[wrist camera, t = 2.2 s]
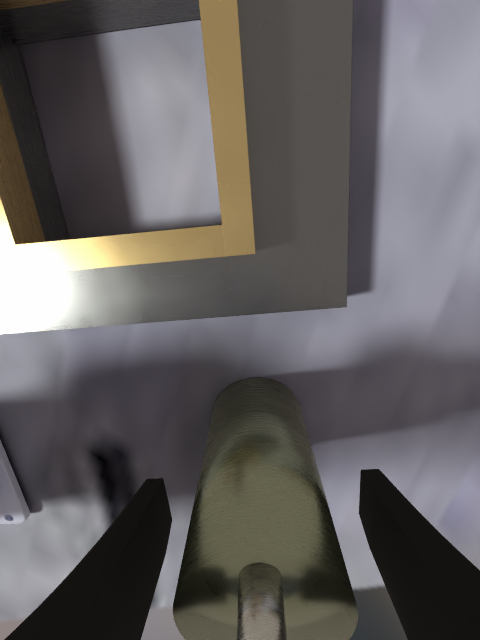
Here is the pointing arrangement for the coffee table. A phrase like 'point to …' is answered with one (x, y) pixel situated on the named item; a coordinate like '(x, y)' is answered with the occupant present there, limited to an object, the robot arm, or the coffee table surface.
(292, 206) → the square peg board
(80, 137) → the coffee table surface
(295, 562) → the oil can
